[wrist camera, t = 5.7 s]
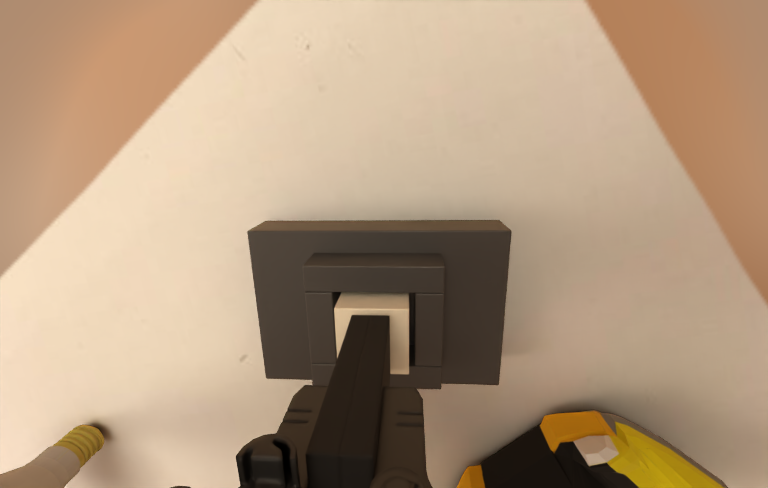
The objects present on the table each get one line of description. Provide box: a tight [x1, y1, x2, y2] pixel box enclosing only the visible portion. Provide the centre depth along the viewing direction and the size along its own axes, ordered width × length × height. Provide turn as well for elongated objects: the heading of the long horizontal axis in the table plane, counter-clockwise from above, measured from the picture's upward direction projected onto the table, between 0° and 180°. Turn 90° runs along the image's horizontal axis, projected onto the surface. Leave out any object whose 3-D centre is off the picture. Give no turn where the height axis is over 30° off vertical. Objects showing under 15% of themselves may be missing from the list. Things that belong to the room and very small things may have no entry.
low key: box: [334, 292, 409, 374], centre depth 16 cm, size 3×3×2 cm
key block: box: [248, 220, 511, 389], centre depth 17 cm, size 12×8×4 cm, turn 91°
